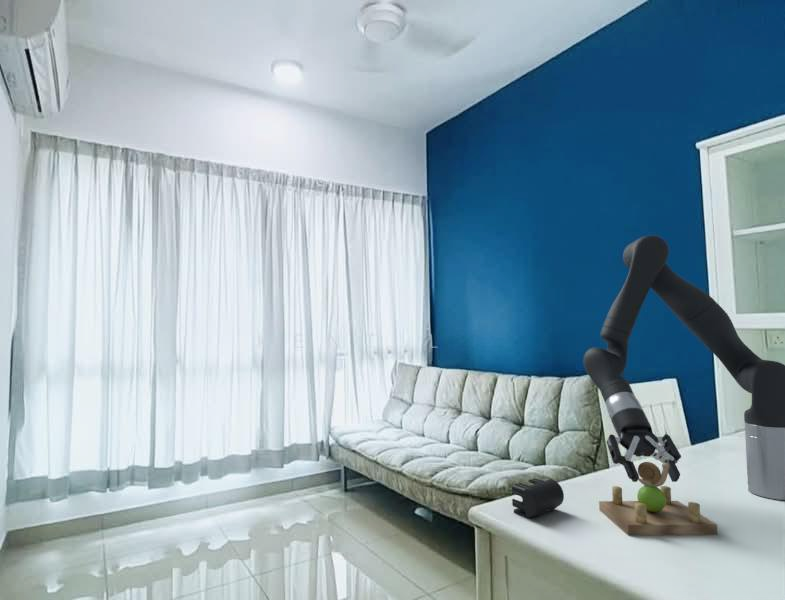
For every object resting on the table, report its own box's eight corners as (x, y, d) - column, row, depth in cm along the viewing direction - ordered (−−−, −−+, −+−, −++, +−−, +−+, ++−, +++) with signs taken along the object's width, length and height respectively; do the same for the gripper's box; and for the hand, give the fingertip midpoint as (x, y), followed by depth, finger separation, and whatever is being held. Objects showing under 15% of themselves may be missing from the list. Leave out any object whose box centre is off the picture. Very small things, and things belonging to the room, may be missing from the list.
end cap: (537, 523, 100) (536, 491, 100) (511, 513, 105) (510, 482, 106) (564, 512, 106) (563, 482, 106) (538, 503, 111) (537, 474, 112)
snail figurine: (669, 519, 96) (666, 460, 97) (635, 512, 100) (633, 455, 101) (673, 511, 100) (671, 455, 101) (641, 504, 104) (638, 450, 105)
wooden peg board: (678, 509, 107) (676, 485, 107) (717, 534, 94) (716, 506, 94) (599, 510, 107) (598, 485, 107) (628, 535, 94) (626, 507, 94)
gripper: (602, 406, 109) (628, 471, 97) (662, 406, 109) (697, 471, 97) (593, 425, 114) (617, 488, 102) (651, 424, 114) (682, 488, 102)
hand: (656, 480), depth 99 cm, fingers open, 8 cm apart
